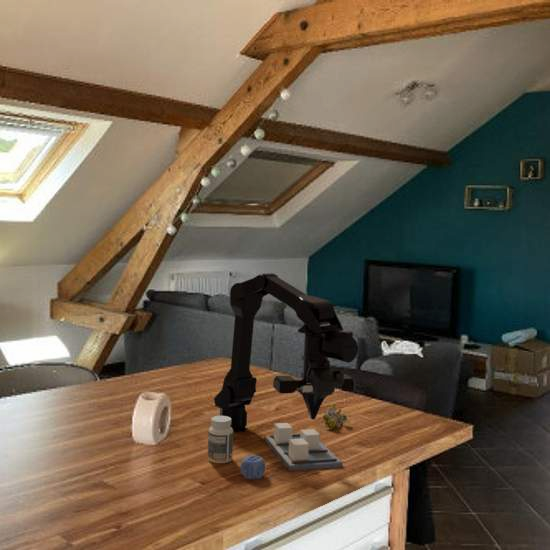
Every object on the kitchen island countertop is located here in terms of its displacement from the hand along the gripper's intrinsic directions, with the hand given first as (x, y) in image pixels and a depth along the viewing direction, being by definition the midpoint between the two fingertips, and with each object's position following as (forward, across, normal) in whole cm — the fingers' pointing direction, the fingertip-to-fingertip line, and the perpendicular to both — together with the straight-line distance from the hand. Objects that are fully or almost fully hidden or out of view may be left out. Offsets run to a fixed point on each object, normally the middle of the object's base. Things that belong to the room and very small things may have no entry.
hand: (312, 418), depth 162 cm
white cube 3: (+9, -4, +11) cm, 14 cm away
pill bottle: (+10, -21, +4) cm, 24 cm away
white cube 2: (+9, +1, +5) cm, 10 cm away
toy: (+10, +16, +26) cm, 32 cm away
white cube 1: (+9, -4, -1) cm, 9 cm away
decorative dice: (+10, -16, -7) cm, 20 cm away
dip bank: (+10, -1, +5) cm, 11 cm away
